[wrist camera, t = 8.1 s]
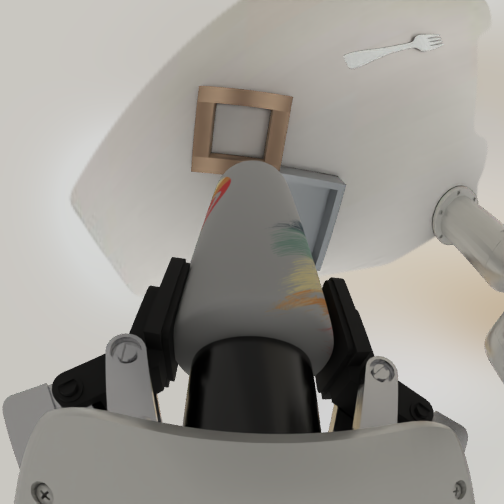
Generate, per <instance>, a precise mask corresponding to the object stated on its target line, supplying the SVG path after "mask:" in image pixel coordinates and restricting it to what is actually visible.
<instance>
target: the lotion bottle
mask: <svg viewBox="0 0 504 504" xmlns="http://www.w3.org/2000/svg"><path fill="white" fill-rule="evenodd" d="M173 340H174V353H175V359H176V361H177V363H178V364H179V366H180V367H181V368H182V369H183V370H184V371H185V372H186V373H187V374H188V375H189V383H188V390H187V398H186V405H185V412H184V419H183V426H184V427H191V428H198V429H206V430H214V431H225V432H237V433H255V434H307V433H321V427H320V420H319V412H318V404H317V397H316V389H315V382H314V376H315V375H316V374H317V373H319V372H320V371H321V370H322V369H323V367H324V366H325V365H326V363H327V362H328V360H329V359H330V356H331V354H332V351H333V346H334V337H333V330H332V325H331V321H330V317H329V313H328V309H327V305H326V302H325V298H324V294H323V291H322V288H321V284H320V281H319V277H318V274H317V271H316V268H315V264H314V261H313V258H312V255H311V251H310V248H309V245H308V242H307V239H306V236H305V233H304V230H303V227H302V224H301V221H300V218H299V215H298V212H297V209H296V206H295V203H294V200H293V197H292V195H291V192H290V189H289V187H288V184H287V182H286V180H285V178H284V177H283V175H282V174H281V173H280V172H279V171H278V170H277V169H276V168H275V167H273V166H272V165H270V164H268V163H265V162H262V161H255V160H250V161H244V162H240V163H238V164H235V165H234V166H232V167H231V168H229V169H228V170H227V171H226V172H225V173H224V174H223V176H222V177H221V179H220V180H219V182H218V185H217V187H216V189H215V192H214V195H213V198H212V200H211V203H210V206H209V209H208V212H207V215H206V218H205V221H204V223H203V226H202V229H201V232H200V235H199V238H198V241H197V244H196V247H195V251H194V254H193V257H192V260H191V263H190V270H189V273H188V276H187V280H186V283H185V286H184V290H183V293H182V297H181V300H180V304H179V308H178V311H177V315H176V319H175V324H174V333H173Z"/></svg>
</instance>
